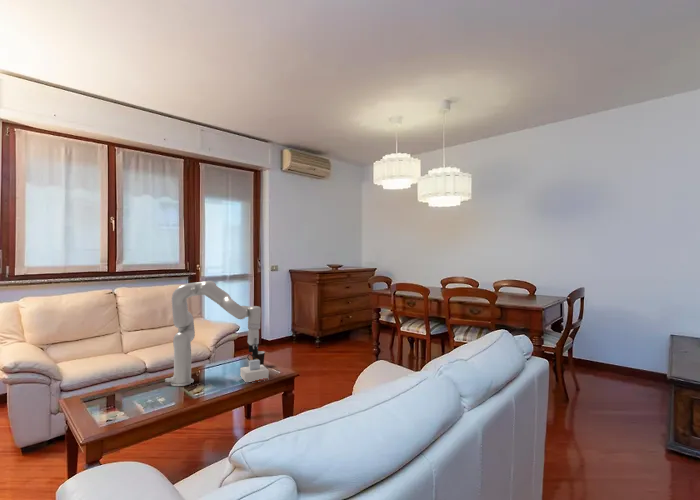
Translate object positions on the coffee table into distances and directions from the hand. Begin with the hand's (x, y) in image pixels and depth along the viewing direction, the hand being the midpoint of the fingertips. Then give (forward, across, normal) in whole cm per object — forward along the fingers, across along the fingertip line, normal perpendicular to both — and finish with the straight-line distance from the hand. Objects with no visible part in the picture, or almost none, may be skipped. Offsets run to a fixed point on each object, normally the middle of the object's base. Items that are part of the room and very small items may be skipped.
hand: (253, 353), depth 227 cm
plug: (+14, 0, +1) cm, 14 cm away
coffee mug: (+16, -25, +9) cm, 31 cm away
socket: (+15, 0, +1) cm, 15 cm away
